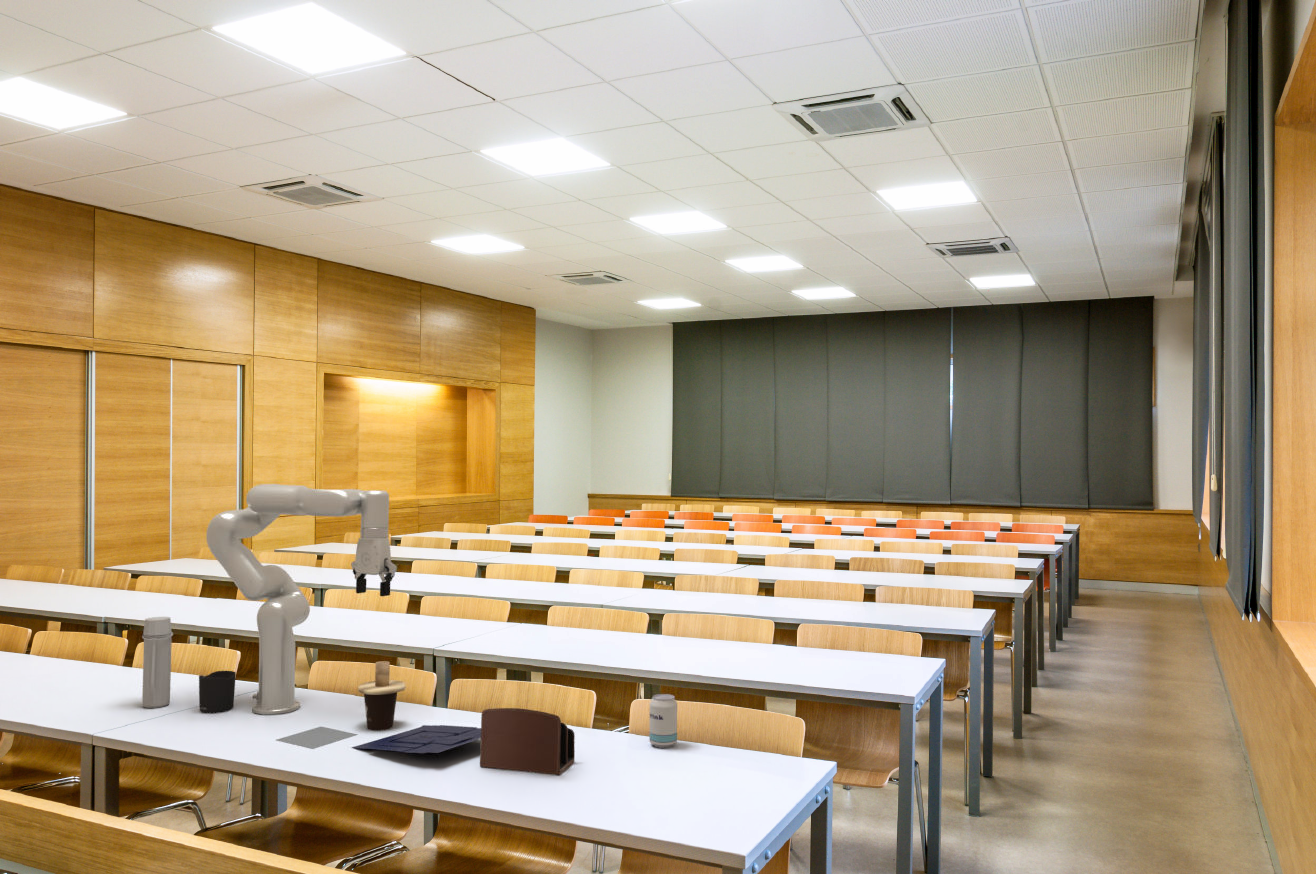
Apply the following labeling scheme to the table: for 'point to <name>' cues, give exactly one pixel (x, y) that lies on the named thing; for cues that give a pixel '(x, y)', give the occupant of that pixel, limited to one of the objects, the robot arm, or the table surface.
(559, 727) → the letter holder
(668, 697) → the beverage can
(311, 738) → the mat
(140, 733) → the table surface
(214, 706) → the pen holder
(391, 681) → the lid
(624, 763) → the table surface
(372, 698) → the coffee mug
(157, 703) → the water bottle
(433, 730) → the dark blue tray
